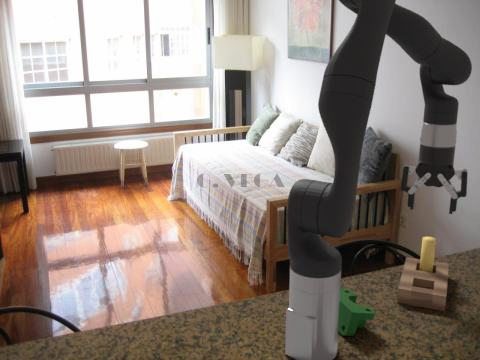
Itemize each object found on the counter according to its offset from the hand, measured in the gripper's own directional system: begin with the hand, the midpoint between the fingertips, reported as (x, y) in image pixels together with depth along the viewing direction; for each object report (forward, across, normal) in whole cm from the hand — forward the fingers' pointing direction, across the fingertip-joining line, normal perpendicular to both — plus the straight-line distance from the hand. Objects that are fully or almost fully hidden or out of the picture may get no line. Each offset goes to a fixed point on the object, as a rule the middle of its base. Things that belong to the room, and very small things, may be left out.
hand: (430, 210), depth 121 cm
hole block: (+18, 0, +4) cm, 19 cm away
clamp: (+18, +14, +26) cm, 34 cm away
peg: (+18, 0, 0) cm, 18 cm away
